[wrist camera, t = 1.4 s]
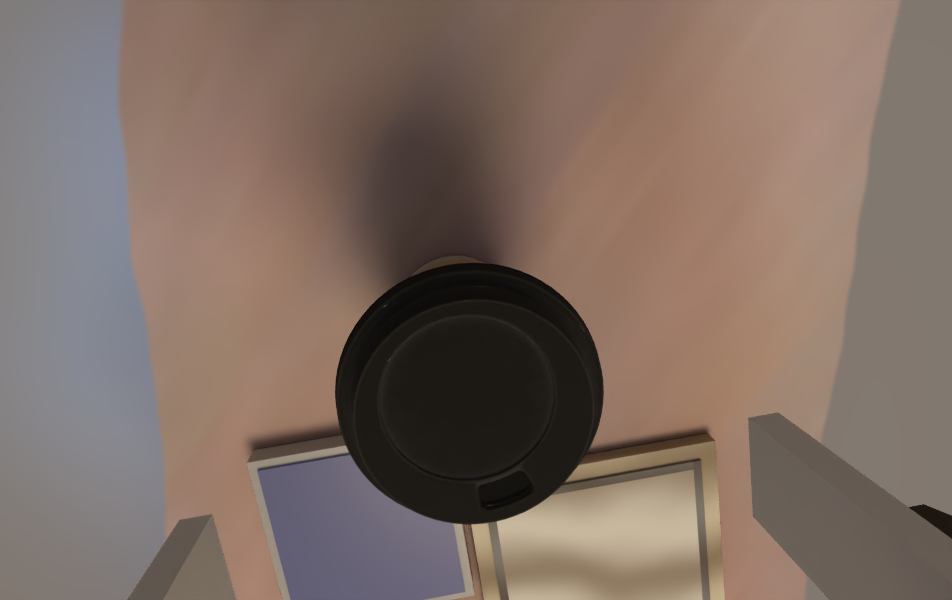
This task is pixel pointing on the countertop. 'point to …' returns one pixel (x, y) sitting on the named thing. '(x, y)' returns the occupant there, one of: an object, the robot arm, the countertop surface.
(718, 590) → the board
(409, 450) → the coffee cup
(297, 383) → the countertop surface
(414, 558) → the ink pad
